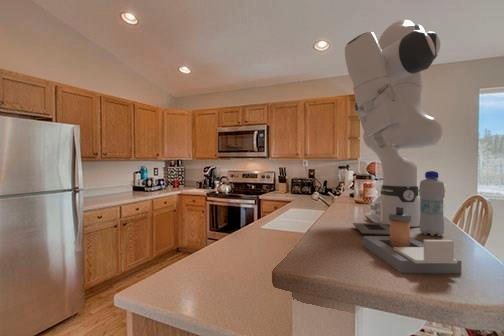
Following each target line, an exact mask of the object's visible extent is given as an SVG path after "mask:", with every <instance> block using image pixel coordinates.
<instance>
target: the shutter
mask: <svg viewBox="0 0 504 336" xmlns="http://www.w3.org/2000/svg"><path fill="white" fill-rule="evenodd" d="M423 244H424V247H394V250H395V251H396V252H398V253H400V254H401V255H403V256H405V257H406V258H408V259H410V260H411V261H413V262H415V263H457V260H456V259H457V258H456V259H454V258H455V256H454V255H455V254H454V253H455V252H454V251H455V250H454V247H455V246H454V245H455V244H454V240H451V239H423Z"/></svg>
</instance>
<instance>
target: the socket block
mask: <svg viewBox="0 0 504 336" xmlns="http://www.w3.org/2000/svg"><path fill="white" fill-rule="evenodd" d="M362 244H363V246H364V247H365V248H366V249H367V250H369V251H370V252H371V253H373V254H374V255H376V256H377V257H378V258H380V259H381V260H382V261H384V262H385V263H386V264H388V265H389V266H390V267H392V268H393V269H395V271H397V272H398V273H400V274H462V260H461V259H457V258H456V257H454V259H456V260H457V263H415V262H413V261H411V260H410V259H408V258H406V257H405V256H403V255H401V254H400V253H398V252H396V251H395V250H394V249H393V248H391V247H390V236H370V235H363V236H362ZM410 247H424V242H421V241H419V240H418V239H417V240H416V239H414V238H413V237H410Z"/></svg>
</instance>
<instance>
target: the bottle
mask: <svg viewBox="0 0 504 336" xmlns="http://www.w3.org/2000/svg"><path fill="white" fill-rule="evenodd" d="M424 177H425V179H423V180H420V182H419V187H418V190H419V192H418V196H419V198H420V226H419V230H420V231H419V232H420V233H421V234H423V235H425V236H428V235H429V234H430V236H431V237H434V236H435V235H436V237H440V236H443V234H444V232H445V222H444V221H445V219H444V198H445V197H446V195H445V193H446V191H445V184H444V181H442V180H440V179H439V173H438V171H433V170H428V171H426V172H425V173H424Z"/></svg>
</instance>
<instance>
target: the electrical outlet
mask: <svg viewBox="0 0 504 336" xmlns="http://www.w3.org/2000/svg"><path fill="white" fill-rule="evenodd" d="M352 225H353V226H354V227H355V228H356V229H357V230H358V231H359V232H360V233H361V234H362V235H363V236H390V225H387V224H380V223H374V222H372V223H370V222H369V223H367V222H365V223H364V222H352Z"/></svg>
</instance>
